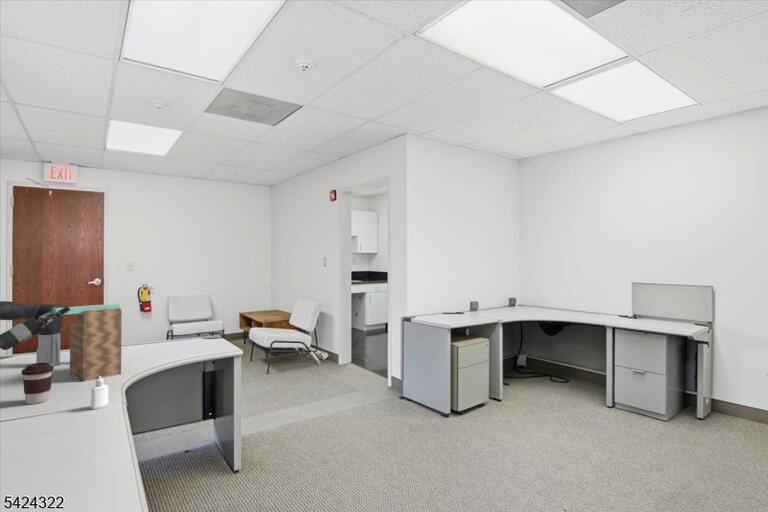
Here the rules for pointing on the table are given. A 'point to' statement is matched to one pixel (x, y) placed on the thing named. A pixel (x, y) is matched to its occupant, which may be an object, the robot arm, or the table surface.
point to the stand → (96, 344)
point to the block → (87, 308)
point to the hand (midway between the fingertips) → (67, 307)
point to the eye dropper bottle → (99, 394)
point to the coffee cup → (37, 382)
